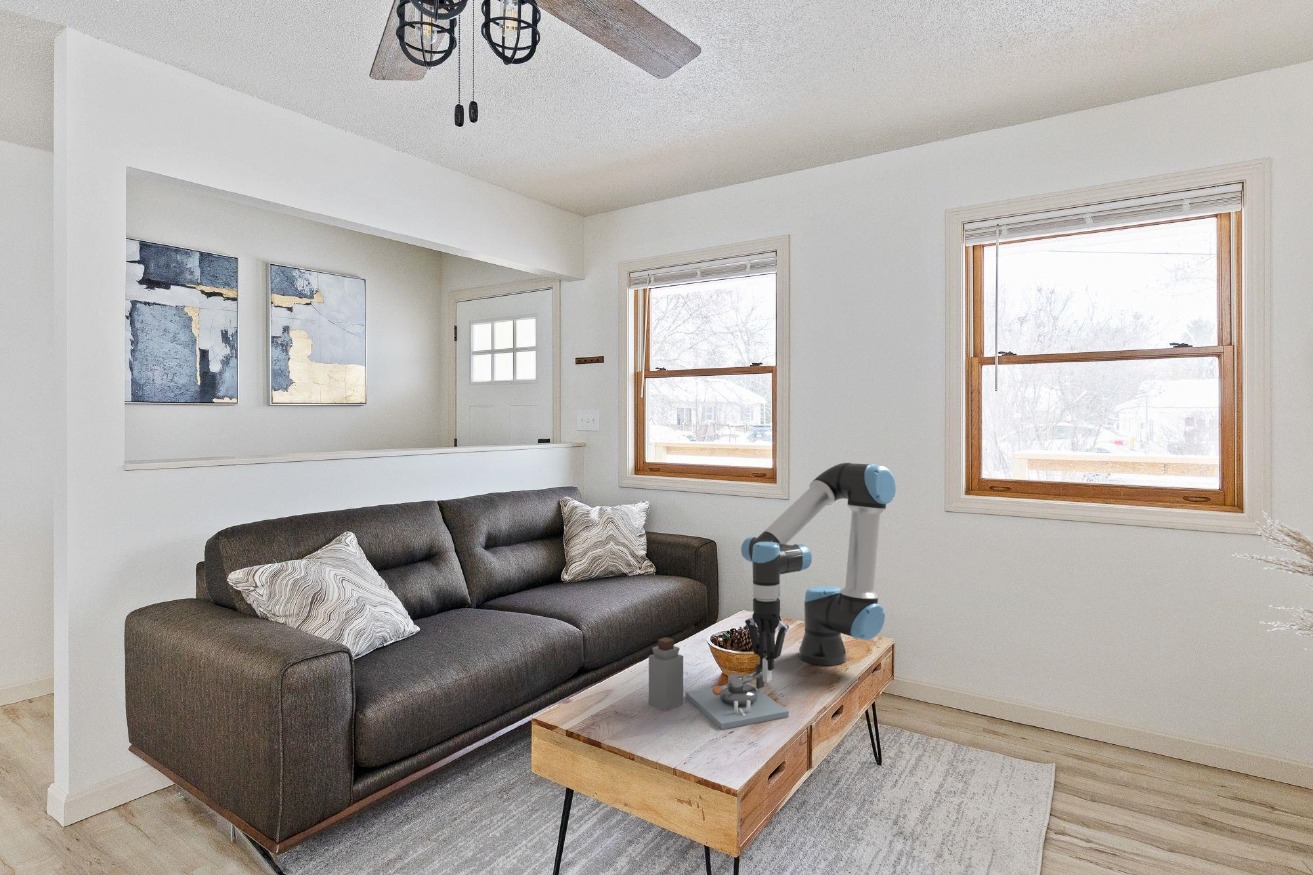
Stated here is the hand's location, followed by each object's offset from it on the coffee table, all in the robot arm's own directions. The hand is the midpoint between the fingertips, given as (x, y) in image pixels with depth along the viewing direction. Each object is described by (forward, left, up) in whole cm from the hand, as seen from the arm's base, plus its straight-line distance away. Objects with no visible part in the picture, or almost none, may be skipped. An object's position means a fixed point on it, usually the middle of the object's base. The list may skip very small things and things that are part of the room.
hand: (767, 680), depth 198 cm
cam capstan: (+9, +1, -3) cm, 10 cm away
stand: (+11, +1, -5) cm, 12 cm away
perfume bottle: (+28, -8, -6) cm, 29 cm away
